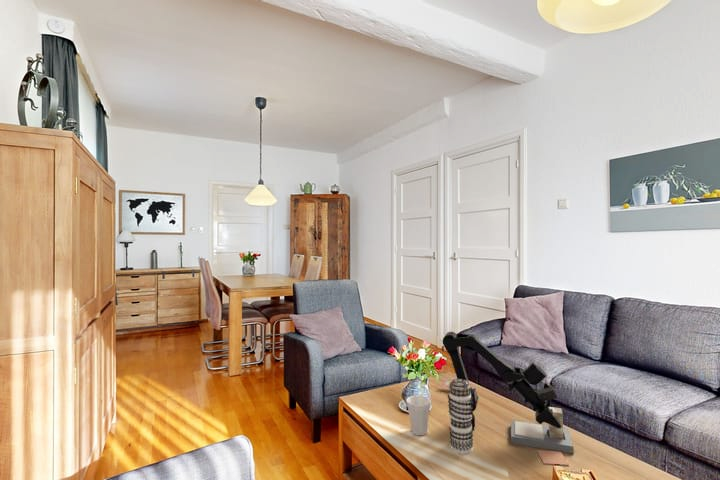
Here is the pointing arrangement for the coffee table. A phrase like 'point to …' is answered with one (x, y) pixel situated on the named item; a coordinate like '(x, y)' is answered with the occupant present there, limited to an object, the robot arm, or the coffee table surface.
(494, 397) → the coffee table surface
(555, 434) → the block
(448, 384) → the rabbit figure
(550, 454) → the pad
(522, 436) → the puzzle board
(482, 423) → the coffee table surface
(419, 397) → the cup
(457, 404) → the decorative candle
